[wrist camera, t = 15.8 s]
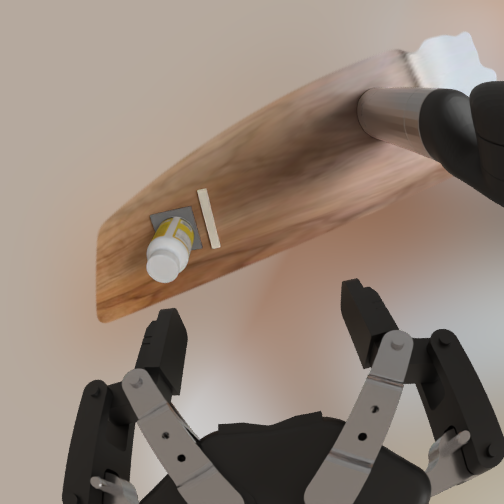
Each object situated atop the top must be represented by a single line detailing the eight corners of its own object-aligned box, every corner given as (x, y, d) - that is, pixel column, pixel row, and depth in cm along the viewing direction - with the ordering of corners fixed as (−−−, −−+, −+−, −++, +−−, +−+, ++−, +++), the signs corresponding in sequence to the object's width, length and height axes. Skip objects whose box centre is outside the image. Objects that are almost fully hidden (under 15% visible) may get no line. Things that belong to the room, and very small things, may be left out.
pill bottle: (154, 238, 47) (134, 276, 36) (167, 208, 44) (148, 241, 34) (186, 253, 48) (174, 294, 38) (201, 225, 46) (191, 262, 36)
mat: (190, 205, 44) (190, 206, 44) (202, 246, 48) (202, 248, 48) (150, 214, 45) (149, 216, 44) (164, 253, 49) (163, 255, 48)
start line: (206, 188, 43) (206, 188, 43) (220, 246, 49) (220, 247, 48) (197, 189, 43) (197, 190, 43) (212, 247, 49) (212, 248, 48)
